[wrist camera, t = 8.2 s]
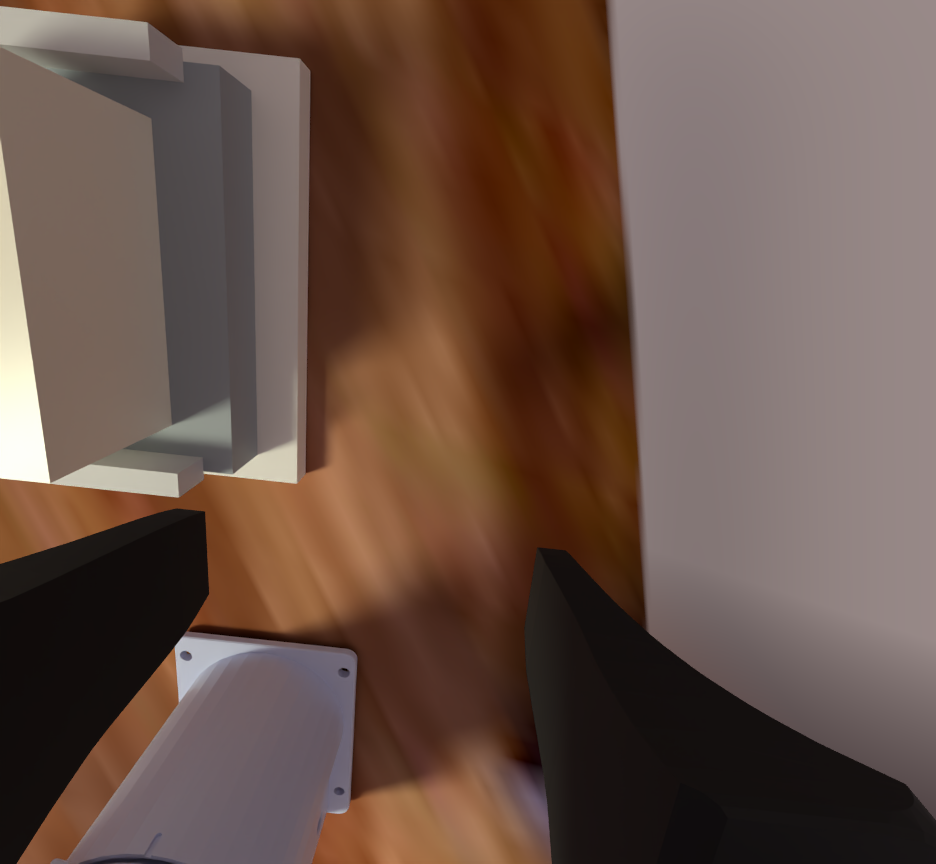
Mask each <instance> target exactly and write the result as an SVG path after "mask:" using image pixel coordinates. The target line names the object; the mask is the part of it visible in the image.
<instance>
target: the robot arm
mask: <svg viewBox="0 0 936 864" xmlns="http://www.w3.org/2000/svg"><path fill="white" fill-rule="evenodd" d="M208 595H209V582H208V562H207V543H206V523H205V512H204V511H195V510H186V509H173V510H168V511H164V512H160V513H157V514H153V515H150V516H147V517H143V518H140V519H137V520H134V521H131V522H128V523H125V524H122V525H119V526H117V527H114V528H111V529H108V530H105V531H102V532H99V533H96V534H93V535H90V536H87V537H84V538H81V539H78V540H76V541H73V542H70V543H66V544H63V545H60V546H57V547H54V548H50V549H47V550H44V551H41V552H38V553H35V554H31V555H28V556H25V557H22V558H19V559H15V560H12V561H9V562H5V563H2V564H0V864H17V862H18V860H19V859H20V857H21V856H22V854H23V853H24V851H25V849H26V848H27V846H28V845H29V843H30V842H31V840H32V839H33V837H34V835H35V834H36V832H37V831H38V829H39V828H40V826H41V824H42V823H43V821H44V820H45V818H46V817H47V815H48V814H49V812H50V810H51V809H52V807H53V806H54V804H55V803H56V801H57V800H58V798H59V797H60V795H61V794H62V793H63V791H64V790H65V788H66V787H67V785H68V784H69V782H70V781H71V779H72V778H73V776H74V775H75V773H76V772H77V770H78V769H79V767H80V766H81V764H82V763H83V761H84V760H85V759H86V757H87V756H88V754H89V753H90V751H91V750H92V749H93V747H94V746H95V745H96V744H97V742H98V741H99V740H100V738H101V737H102V736H103V734H104V733H105V732H106V730H107V729H108V728H109V727H110V725H111V724H112V723H113V722H114V721H115V719H116V718H117V717H118V716H119V714H120V713H121V712H122V711H123V710H124V708H125V707H126V706H127V705H128V703H129V702H130V701H131V700H132V699H133V697H134V696H135V695H136V694H137V692H138V691H139V690H140V689H141V688H142V686H143V685H144V684H145V683H146V682H147V680H148V679H149V678H150V677H151V675H152V674H153V673H154V672H155V671H156V669H157V668H158V667H159V666H160V664H161V663H162V662H163V661H164V659H165V658H166V657H167V656H168V654H169V653H170V652H171V651H172V649H173V648H174V647H175V655H176V668H177V682H178V695H179V704H178V705H177V707H176V708H175V709H174V711H173V712H172V714H171V715H170V716H169V718H168V719H167V721H166V722H165V723H164V725H163V726H162V728H161V729H160V730H159V732H158V733H157V735H156V736H155V737H154V739H153V740H152V742H151V743H150V744H149V746H148V747H147V749H146V750H145V751H144V753H143V754H142V756H141V757H140V758H139V760H138V761H137V763H136V764H135V765H134V767H133V768H132V770H131V771H130V772H129V774H128V775H127V777H126V778H125V779H124V781H123V782H122V784H121V785H120V786H119V788H118V789H117V791H116V792H115V793H114V795H113V796H112V798H111V799H110V800H109V802H108V803H107V805H106V806H105V807H104V809H103V810H102V812H101V813H100V814H99V816H98V817H97V819H96V820H95V821H94V823H93V824H92V826H91V827H90V828H89V830H88V831H87V833H86V834H85V835H84V837H83V838H82V840H81V841H80V842H79V844H78V845H77V847H76V848H75V849H74V851H73V852H72V854H71V855H70V856H69V858H68V859H67V861H65V860H62V859H59V858H57V859H54V860H53V861H52V862H51V863H50V864H312V860H313V857H314V854H315V850H316V847H317V843H318V840H319V837H320V833H321V830H322V826H323V823H324V820H325V816H326V813H327V812H328V813H337V814H340V813H344V812H346V811H347V810H348V808H349V805H350V799H351V779H352V759H353V739H354V718H355V698H356V678H357V655H356V654H355V652H353V651H352V650H350V649H345V648H336V647H327V646H317V645H308V644H299V643H289V642H280V641H271V640H262V639H252V638H243V637H234V636H224V635H215V634H206V633H196V632H186V631H187V629H188V628H189V626H190V625H191V623H192V622H193V620H194V618H195V617H196V615H197V614H198V612H199V610H200V608H201V607H202V605H203V603H204V602H205V600H206V598H207V596H208ZM524 629H525V655H526V672H527V678H528V685H529V691H530V697H531V703H532V709H533V715H534V721H535V726H536V732H537V738H538V744H539V750H540V756H541V762H542V767H543V773H544V780H545V788H546V796H547V804H548V817H549V830H550V844H551V857H552V864H936V820H935V819H934V818H933V816H932V815H931V814H930V813H929V812H928V810H927V809H926V808H925V807H924V806H923V805H922V803H921V802H920V801H919V800H918V798H917V797H916V796H915V795H914V794H913V793H912V791H911V790H910V789H909V788H908V786H906V784H904V783H902V782H900V781H898V780H895V779H893V778H891V777H889V776H887V775H885V774H883V773H881V772H879V771H876V770H874V769H872V768H870V767H868V766H866V765H864V764H861V763H859V762H857V761H855V760H853V759H851V758H849V757H847V756H844V755H842V754H840V753H838V752H836V751H834V750H832V749H830V748H827V747H825V746H823V745H821V744H819V743H817V742H815V741H814V740H812V739H810V738H808V737H806V736H804V735H802V734H801V733H799V732H797V731H795V730H793V729H791V728H789V727H788V726H786V725H784V724H782V723H780V722H778V721H777V720H775V719H773V718H771V717H769V716H768V715H766V714H764V713H762V712H761V711H759V710H757V709H756V708H754V707H752V706H751V705H749V704H747V703H746V702H744V701H742V700H741V699H739V698H738V697H736V696H734V695H733V694H731V693H730V692H728V691H727V690H725V689H724V688H722V687H721V686H719V685H717V684H716V683H714V682H713V681H711V680H710V679H708V678H706V677H705V676H704V675H702V674H701V673H700V672H698V671H697V670H695V669H694V668H692V667H691V666H690V665H688V664H687V663H686V662H684V661H683V660H682V659H680V658H679V657H678V656H676V655H675V654H674V653H673V652H671V651H670V650H669V649H667V648H666V647H665V646H663V645H662V644H661V643H660V642H659V641H657V640H656V639H655V638H654V637H652V636H651V635H650V634H649V633H648V632H647V631H646V630H645V629H643V628H642V627H641V626H640V625H639V624H638V623H637V622H636V621H634V620H633V619H632V618H631V617H630V616H629V615H628V614H627V613H626V612H625V611H624V610H623V609H622V608H620V607H619V606H618V605H617V604H616V603H615V602H614V601H613V600H612V599H611V598H610V597H609V596H608V595H607V594H606V593H605V592H604V591H603V590H602V588H601V587H600V586H599V585H598V584H597V583H596V582H595V581H594V580H593V579H592V578H591V577H590V576H589V575H588V574H587V573H586V571H585V570H584V569H583V568H582V567H581V566H580V565H579V564H578V563H577V562H576V561H575V560H574V558H573V557H572V556H571V555H570V554H569V553H568V552H567V551H565V550H556V549H547V548H538V547H537V553H536V559H535V565H534V571H533V578H532V584H531V590H530V596H529V603H528V609H527V615H526V621H525V627H524ZM186 651H188V652H189V653H191V654H188V653H187V652H186ZM341 668H346V669H348V670H349V671H344V670H342V669H341Z"/></svg>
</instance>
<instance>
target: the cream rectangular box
mask: <svg viewBox="0 0 936 864" xmlns="http://www.w3.org/2000/svg"><path fill="white" fill-rule="evenodd" d="M171 425H172V418H171V403H170V388H169V374H168V359H167V344H166V329H165V314H164V299H163V284H162V269H161V254H160V239H159V224H158V210H157V195H156V180H155V165H154V150H153V135H152V120H151V118H149V117H147V116H145V115H143V114H141V113H139V112H136V111H134V110H132V109H130V108H128V107H126V106H124V105H122V104H120V103H117V102H115V101H113V100H111V99H109V98H107V97H105V96H103V95H101V94H98V93H96V92H94V91H92V90H90V89H88V88H86V87H84V86H82V85H79V84H77V83H75V82H73V81H71V80H69V79H67V78H65V77H63V76H60V75H58V74H56V73H54V72H52V71H50V70H48V69H46V68H44V67H41V66H39V65H37V64H35V63H33V62H31V61H29V60H27V59H25V58H22V57H20V56H18V55H16V54H14V53H12V52H10V51H8V50H6V49H3V48H1V47H0V478H5V479H15V480H24V481H33V482H42V483H52V482H54V481H56V480H58V479H60V478H62V477H64V476H67V475H69V474H71V473H73V472H75V471H77V470H79V469H81V468H83V467H85V466H88V465H90V464H92V463H94V462H96V461H98V460H100V459H102V458H104V457H106V456H108V455H111V454H113V453H115V452H117V451H119V450H121V449H123V448H125V447H127V446H129V445H131V444H134V443H136V442H138V441H140V440H142V439H144V438H146V437H148V436H150V435H152V434H155V433H157V432H159V431H161V430H163V429H165V428H167V427H169V426H171Z"/></svg>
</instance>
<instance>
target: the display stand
mask: <svg viewBox="0 0 936 864" xmlns="http://www.w3.org/2000/svg"><path fill="white" fill-rule="evenodd" d="M0 47H1V48H3V49H6V50H8V51H10V52H12V53H14V54H16V55H18V56H20V57H22V58H25V59H27V60H29V61H31V62H33V63H35V64H37V65H39V66H41V67H44V68H46V69H48V70H50V71H52V72H54V73H56V74H58V75H60V76H63V77H65V78H67V79H69V80H71V81H73V82H75V83H77V84H79V85H82V86H84V87H86V88H88V89H90V90H92V91H94V92H96V93H98V94H101V95H103V96H105V97H107V98H109V99H111V100H113V101H115V102H117V103H120V104H122V105H124V106H126V107H128V108H130V109H132V110H134V111H136V112H139V113H141V114H143V115H145V116H147V117H149V118H151V120H152V135H153V150H154V165H155V180H156V195H157V210H158V224H159V239H160V254H161V269H162V284H163V299H164V314H165V329H166V344H167V359H168V374H169V388H170V403H171V418H172V425H171V426H169V427H167V428H165V429H163V430H161V431H159V432H157V433H155V434H152V435H150V436H148V437H146V438H144V439H142V440H140V441H138V442H136V443H134V444H131V445H129V446H127V447H125V448H123V449H121V450H119V451H117V452H115V453H113V454H111V455H108V456H106V457H104V458H102V459H100V460H98V461H96V462H94V463H92V464H90V465H88V466H85V467H83V468H81V469H79V470H77V471H75V472H73V473H71V474H69V475H67V476H64V477H62V478H60V479H58V480H56V481H54V482H52V483H49V484H59V485H68V486H77V487H86V488H96V489H105V490H114V491H123V492H133V493H142V494H151V495H161V496H170V497H180V496H182V495H183V494H184V493H186V492H187V491H189V490H190V489H191V488H193V487H194V486H195V485H197V484H198V483H200V482H201V481H202V480H204V474H213V475H222V476H231V477H241V478H250V479H259V480H268V481H278V482H287V483H296V484H297V483H298V482H299V481H300V480H301V478H302V477H303V476H304V475H305V474H306V398H307V316H308V233H309V151H310V70H309V69H308V68H307V66H306V65H305V64H304V63H303V62H302V60H301V59H300V58H291V57H282V56H273V55H263V54H254V53H245V52H236V51H227V50H218V49H208V48H199V47H190V46H181V45H177V44H176V43H174V42H173V41H172V40H170V39H169V38H168V37H166V36H165V35H164V34H162V33H161V32H160V31H158V30H157V29H156V28H154V27H153V26H152V25H150V24H149V23H148V22H139V21H130V20H121V19H112V18H103V17H94V16H84V15H75V14H66V13H57V12H48V11H39V10H29V9H20V8H11V7H2V6H0ZM3 479H5V478H3ZM12 480H15V479H12ZM21 481H24V480H21ZM31 482H33V481H31ZM40 483H42V482H40Z"/></svg>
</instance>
